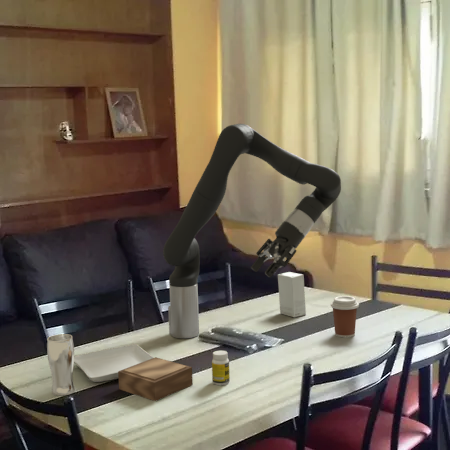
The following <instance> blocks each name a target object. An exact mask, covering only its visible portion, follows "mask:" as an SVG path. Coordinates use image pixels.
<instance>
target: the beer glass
mask: <svg viewBox="0 0 450 450" xmlns="http://www.w3.org/2000/svg"><path fill="white" fill-rule="evenodd" d="M46 341H47V343H46V348H47V351H46V352H47V353H46V354H47V361H48V365H49V369H50V372H51V374H50V375H51V378H52V379H51V380H52V386H51V394H52V395H53V396H56V397H62V396H69V395H71V394H73V393H74V392H76V388H75V383H74V379H73V378H74V377H73V375H74V365H75V364H74V356H75V346H74V340H73V335H71V334H66V333H61V334H60V333H59V334H53V335H50V336H49V337H48V338H47V339H46Z"/></svg>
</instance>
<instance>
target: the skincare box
mask: <svg viewBox="0 0 450 450" xmlns="http://www.w3.org/2000/svg"><path fill="white" fill-rule="evenodd" d="M277 282H278V296H279V300H278V301H279V314H281V315H284V316H288V317H291V318H298V317H303V316H306V315H307V314H306V313H307V310H306V307H307V306H306V296H305V295H306V293H305V292H306V291H305V278H304V274H302V273H296V272H291V271H288V272H287V271H286V272H283V273H279V274H277Z"/></svg>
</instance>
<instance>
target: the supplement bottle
mask: <svg viewBox="0 0 450 450" xmlns="http://www.w3.org/2000/svg"><path fill="white" fill-rule="evenodd" d="M228 355H229V354H228V352H227V350H216V351H213V352H212V360H211V376H212V377H211V378H212V384H214V385H216V386H225V385H228V384H229V383H230V379H231V375H230V360H229V358H228V357H229V356H228Z"/></svg>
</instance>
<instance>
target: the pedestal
mask: <svg viewBox="0 0 450 450" xmlns="http://www.w3.org/2000/svg"><path fill="white" fill-rule="evenodd" d="M193 380H194V379H193V367H192V366H190V365H184V364H182V363H178V362H174V361H170V360H169V359H168V360H167V359H163V358H159V357H154V358H152V359H150V360H147V361H144V362H142V363H139V364H136V365H134V366H131V367H129V368H126V369H123V370H121V371H118V389H119V390H121V391H123V392H126V393H130V394H133V395H136V396H138V397H141V398H145V399H147V400H151V401H153V402H157V401H159V400H162V399H164V398H166V397H168V396H171V395H173V394H176V393H178V392H180V391H182V390H184V389H187V388H188V387H191V386H193V383H194V382H193Z"/></svg>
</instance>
